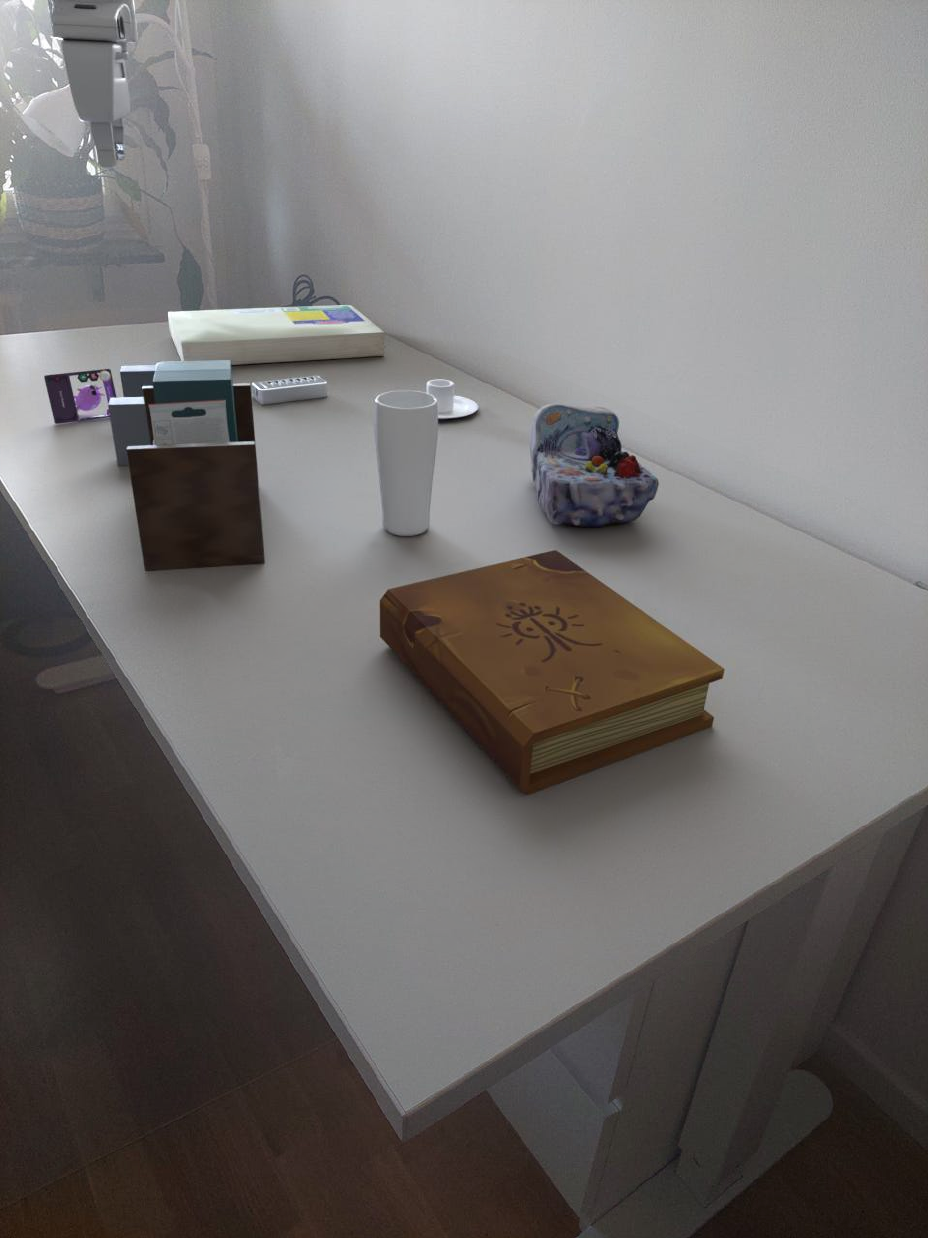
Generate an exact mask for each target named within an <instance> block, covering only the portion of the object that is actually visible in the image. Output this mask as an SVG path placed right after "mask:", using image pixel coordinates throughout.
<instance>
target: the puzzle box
mask: <svg viewBox="0 0 928 1238" xmlns="http://www.w3.org/2000/svg"><path fill="white" fill-rule="evenodd" d="M167 316H168V329H169V334H170V336H171V339H172V341H173V343H174V346H175V349H176V351H177V353H178V354H177V355H178V356H179V358H180V361H207V360H231V366H236V365H238V366H239V365H250V364H251V365H252V364H266V363H269V364H270V363H285V362H303V361H318V360H319V361H321V360H331V359H332V360H335V359H352V358H365V357H366V358H367V357H384V356H385V349H386V344H385V332H384V331H383V330H382V329H381V328H380V327H379V326H377V325H376V324H375V323H374V322H373V321H371V320H370V319H369V318H368V317H366V316H365V315H364V314H363V313H362V312H360V311H359V310H358V309H357V308H355V307H354V306H353V305H352V304H343V305H308V306H306V305H305V306H282V307H280V306H278V307H253V308H252V307H251V308H229V309H226V308H225V309H204V310H181V311H168V312H167Z"/></svg>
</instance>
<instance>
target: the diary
mask: <svg viewBox="0 0 928 1238" xmlns="http://www.w3.org/2000/svg"><path fill="white" fill-rule="evenodd" d="M379 638H380V639H381V640H382V641H383V642H384V643H385V644H386V646H388V648H390V650H391V651H392V652H393V653H394V654H395V655H396V656H397V657H398V658H399V660H401V661H402V663H404V665H405V666H407V668H408V669H409V670H410V671H411V672H412V673H413V674H414V676H415V677H416V678H417V679H418V680H419V681H420V682H421V683H422V684H423V685H424V686H425V687H426V688H427V689H428V691H429V692H430V693H431V694H432V695H433V696H434V697H435V698H436V699H437V700H438V702H439V703H440V704H441V705H442V706H443V707H444V708H445V709H446V711H447V712H449V714H451V716H452V717H453V718H454V719H455V720H456V721H457V722H458V724H459V725H461V727H462V728H463V729H464V730H465V731H466V732H467V733H468V734H469V735H470V736H471V737H472V739H473V740H474V741H475V743H477V744H478V745H479V746H480V747H481V748H482V750H483V751H485V753H486V754H487V755H488V756H489V757H490V759H492V760H493V761H494V763H495V764H496V765H497V766H498V767H499V768H500V769H501V770H502V771H503V772H504V773H505V775H507V777H508V778H509V779H510V780H511V781H512V782H513V783H514V784H515V785H516V786H517V788H518V789H519V790H521V791H522V792H524V793H525V794H526V795H531V794H534V793H536V792H539V791H541V790H544V789H547V788H551V787H553V786H555V785H558V784H561V783H563V782H566V781H568V780H572V779H573V778H577V777H580V776H582V775H586V774H587V773H590V772H593V771H596V770H599V769H601V768H604V767H607V766H609V765H612V764H614V763H617V762H620V761H622V760H625V759H628V758H630V757H633V756H635V755H639V754H642V753H644V752H647V751H650V750H652V749H655V748H657V747H660V746H662V745H665V744H668V743H671V742H673V741H676V740H679V739H681V738H682V739H683V738H684V737H687V736H689V735H693V734H695V733H699V732H700V731H703V730H706V729H708V728H711V727H713V725H714V719H715V716H714V715H712V714H711V713H709V711H707V710H705V705H706V701H707V696H708V691H709V687H710V684H711V683H714V682H717V681H720V680H723V679H724V675H725V670H726V668H724V667H723V666H721V664H718V663H717V662H715V660H713V659H712V658H710V657H709V656H707V655H706V654H704V653H703V652H701V650H699V649H697V648H696V647H694V646H693V645H692V644H691V643H689V642H687V641H686V640H684V638H682V637H680V636H679V635H677V634H676V633H675V632H673V631H672V630H670V629H669V628H668V627H666V626H665V625H663V624H662V623H661V622H659V621H657V620H656V619H655V618H653V617H652V616H651V615H649V614H648V613H646V612H645V611H644V610H642V609H641V608H639V607H638V606H636V605H635V604H633V603H632V602H631V601H629V600H628V599H627V598H625V597H623V596H622V595H621V594H620V593H618V592H616V591H615V590H613V589H612V588H611V587H609V586H608V585H606V584H605V583H604V582H602V581H601V580H600V579H598V578H596V577H595V575H593V574H591V573H589V572H588V571H587V570H585V568H582V567H581V566H579V564H577V563H576V562H574V561H572V560H571V559H570V558H569V557H567V556H565V555H564V554H563V553H561V552H560V551H558V550H557V549H554V550H549V551H545V552H541V553H537V554H532V555H529V556H524V557H520V558H514V559H511V560H506V561H503V562H499V563H493V564H490V565H485V566H482V567H477V568H472V569H468V570H465V571H459V572H456V573H451V574H447V575H443V576H439V577H435V578H431V579H430V578H429V579H426V580H422V581H417V582H413V583H409V584H404V585H401V586H396V587H391V588H388V589H387V590H386V591H385V593H384V594H383V595H382V596H381V598H380V599H379Z"/></svg>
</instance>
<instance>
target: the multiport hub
mask: <svg viewBox="0 0 928 1238" xmlns="http://www.w3.org/2000/svg"><path fill="white" fill-rule="evenodd" d="M251 389H252V399H254V400H255V401H256V402H258V403H259V405H271V404H279V403H280V404H281V403H288V402H295V401H296V402H297V401H305V400H314V399H321V398H328V382H327V381H326V380H325V379H323V378H321V376H319V375H310V376H309V375H308V376H299V377H291V378H282V379H281V378H280V379H272V380H264V381H253V382H252V383H251Z"/></svg>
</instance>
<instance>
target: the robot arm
mask: <svg viewBox="0 0 928 1238" xmlns="http://www.w3.org/2000/svg"><path fill="white" fill-rule="evenodd" d="M47 5H48V10H49V11H48V12H49V16H50V22H51V29H52V30H51V31H52V37H53V38H54V39H57V40H61V41H60V42H61V43H60V44H61V45H60V46H61V51H62V56H63V62H64V66H65V71H66V76H67V80H68V85H69V90H70V94H71V98H72V101H73V105H74V109H75V111H76V114H77V117H78V119H79V121H81V122H84V123H85V122H86V123H89V125H90V131H91V136H92V139H93V142H94V146H95V149H96V154H97V160H98V164H99V165H98V166H100V167H101V168H107V169H109V168H111V169H114V168H115V167H116V166H117V164H118V161H123V160H125V159H126V156H127V155H126V147H125V122H124V118H125V117H128V116H129V115H130V114H131V111H132V110H131V109H132V107H131V105H132V104H131V95H130V90H129V89H130V88H129V82H128V76H127V75H128V74H127V67H126V62H125V60H127V61H129V60H130V53H129V46H128V44H130V43H131V44H137V43H139V41H140V40H139V39H140V38H139V31H138V22H137V15H136V5H135V0H47Z"/></svg>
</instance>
